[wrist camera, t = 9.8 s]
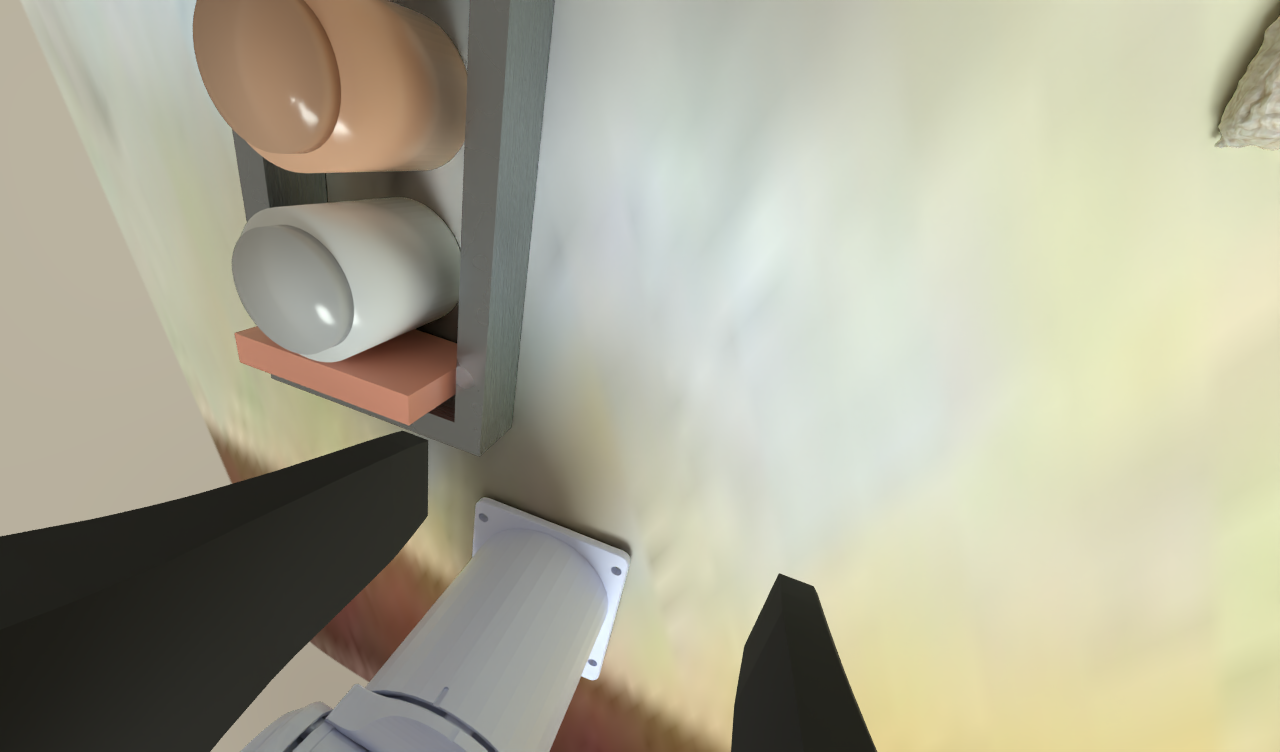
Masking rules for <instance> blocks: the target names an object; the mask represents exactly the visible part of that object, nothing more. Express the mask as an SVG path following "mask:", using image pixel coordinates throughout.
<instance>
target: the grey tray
mask: <svg viewBox="0 0 1280 752" xmlns="http://www.w3.org/2000/svg"><path fill="white" fill-rule="evenodd" d="M553 9H554V0H470V15H469V42H468V69H467V96H466V123H465V150H464V177H463V204H462V232H461V259H460V286H459V313H458V340H457V367H456V394H455V395H453V396H452V397H450V398H449V399H447V400H446V401H444V402H443V403H441V404H440V405H438V406H437V407H436V408H434V409H433V410H431V411H430V412H428V413H427V414H425V415H424V416H422V417H421V418H419V419H418V420H416V421H415V422H413V423H412V424H410V425H406V424H403V423H401V422H398V421H395V420H393V419H390V418H387V417H385V416H382V415H379V414H377V413H374V412H371V411H369V410H366V409H363V408H361V407H358V406H355V405H353V404H350V403H347V402H345V401H342V400H339V399H337V398H334V397H331V396H329V395H326V394H323V393H321V392H318V391H315V390H313V389H310V388H307V387H305V386H302V385H299V384H297V383H294V382H292V381H289V380H286V379H284V378H281V377H278V376H276V375H273V374H271V378H272V379H275V380H278V381H280V382H283V383H286V384H288V385H291V386H293V387H296V388H299V389H301V390H304V391H307V392H309V393H312V394H315V395H317V396H320V397H323V398H325V399H328V400H331V401H333V402H336V403H339V404H341V405H344V406H346V407H349V408H352V409H354V410H357V411H360V412H362V413H365V414H368V415H370V416H373V417H376V418H378V419H381V420H384V421H386V422H389V423H391V424H394V425H397V426H399V427H402V428H405V429H407V430H410V431H413V432H415V433H418V434H421V435H423V436H426V437H429V438H431V439H434V440H437V441H439V442H442V443H444V444H447V445H450V446H452V447H455V448H458V449H460V450H463V451H466V452H468V453H471V454H474V455H476V456H479V457H480V456H481V455H482V454H483V453H484V452H485V451H486V450H487V449H488V448H489V447H490V446H492V445H493V444H494V443H495V442H496V441H497V440H498V439H499V438H500V437H501V436H502V435H504V434H505V433H506V432H507V431H508V430H509V429H510V428H511V427H512V417H513V407H514V397H515V387H516V377H517V367H518V357H519V347H520V337H521V327H522V317H523V307H524V298H525V288H526V278H527V268H528V258H529V248H530V238H531V228H532V218H533V208H534V198H535V188H536V178H537V168H538V158H539V148H540V139H541V129H542V119H543V109H544V99H545V89H546V79H547V69H548V59H549V49H550V39H551V29H552V19H553ZM232 131H233V137H234V144H235V150H236V156H237V163H238V169H239V175H240V182H241V188H242V194H243V201H244V207H245V213H246V220H247V222H248V220H249V219H250V218H251V217H252V216H253V215H254V214H256V213H258V212H259V211H261V210H264V209H267V208H273V207H283V206H295V205H307V204H319V203H327V192H326V180H325V173H297V172H292V171H288V170H285V169H283V168H281V167H278V166H276V165H274V164H273V163H271V162H269V161H268V160H266V159H265V158H264V157H262V156H261V155H260V154H258V153H257V152H256V151H255V150H254V149H253V148H252V147H251V146H250V145H249V144H248V143H247V142H246V141H245V140H244V139H243V138H241V137H240V136H239V135H238V134H237V133H236V132H235V131H234V130H233V129H232Z"/></svg>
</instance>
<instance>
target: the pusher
mask: <svg viewBox="0 0 1280 752" xmlns="http://www.w3.org/2000/svg"><path fill="white" fill-rule="evenodd" d="M235 338H236V343H237V349H238V354H239V359H240V362H241V363H244V364H246V365H249V366H252V367H254V368H257V369H260V370H262V371H265V372H268V373H270V374H273V375H276V376H278V377H281V378H284V379H286V380H289V381H292V382H294V383H297V384H299V385H302V386H305V387H307V388H310V389H313V390H315V391H318V392H321V393H323V394H326V395H329V396H331V397H334V398H337V399H339V400H342V401H345V402H347V403H350V404H353V405H355V406H358V407H361V408H363V409H366V410H369V411H371V412H374V413H377V414H379V415H382V416H385V417H387V418H390V419H393V420H395V421H398V422H401V423H403V424H406V425H410V424H412V423H413V422H415V421H416V420H418V419H419V418H421V417H422V416H424V415H425V414H427V413H428V412H430V411H431V410H433V409H434V408H436V407H437V406H438V405H440V404H441V403H443V402H444V401H446V400H447V399H449V398H450V397H452V396H453V395H455V394H456V367H457V343H454V342H451V341H448V340H445V339H442V338H439V337H437V336H434V335H431V334H428V333H425V332H422V331H419V330H416V329H413V330H411V331H409V332H406V333H404V334H402V335H399V336H397V337H395V338H393V339H390V340H388V341H386V342H383V343H381V344H379V345H376V346H374V347H372V348H369V349H367V350H365V351H363V352H360V353H358V354H356V355H353V356H351V357H349V358H346V359H344V360H341V361H337V362H320V361H315V360H312V359H309V358H307V357H304V356H302V355H300V354H298V353H294V352H291V351H289V350H287V349H285V348H283V347H281V346H279V345H278V344H276V343H275V342H274V341H272V340H271V339H270V338H269V337H268V336H266V335H265V334H264V333H263V332H262V331H261V330H260V329H259V327H258V326H256V327H253V328H250V329H246V330H243V331H240V332H236V333H235Z"/></svg>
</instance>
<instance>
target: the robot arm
mask: <svg viewBox="0 0 1280 752" xmlns="http://www.w3.org/2000/svg"><path fill="white" fill-rule="evenodd" d="M427 516H428V440H426V439H423V438H421V437H418V436H415V435H413V434H410V433H407V432H405V431H400V432H396V433H393V434H389V435H386V436H382V437H379V438H376V439H373V440H370V441H367V442H364V443H360V444H357V445H354V446H351V447H348V448H345V449H342V450H339V451H336V452H333V453H330V454H327V455H324V456H321V457H318V458H315V459H312V460H309V461H305V462H302V463H299V464H296V465H293V466H290V467H287V468H284V469H281V470H278V471H274V472H271V473H268V474H264V475H261V476H258V477H254V478H251V479H247V480H244V481H240V482H237V483H234V484H230V485H227V486H224V487H220V488H217V489H213V490H210V491H206V492H203V493H200V494H196V495H192V496H188V497H185V498H181V499H177V500H173V501H169V502H165V503H161V504H157V505H153V506H149V507H144V508H140V509H135V510H131V511H127V512H123V513H118V514H114V515H109V516H105V517H100V518H95V519H91V520H86V521H80V522H75V523H70V524H64V525H59V526H54V527H48V528H44V529H38V530H32V531H28V532H22V533H17V534H11V535H6V536H1V537H0V752H210V751H211V750H212V749H213V747H214V746H215V745H216V744H217V743H218V741H219V740H220V739H221V738H222V737H223V735H224V734H225V733H226V732H227V731H228V730H229V728H230V727H231V726H232V725H233V724H234V723H235V722H236V720H237V719H238V718H239V717H240V716H241V715H242V713H243V712H244V711H245V710H246V709H247V708H248V707H249V705H250V704H251V703H252V702H253V701H254V700H255V698H256V697H257V696H258V695H259V694H260V693H261V692H262V690H263V689H264V688H265V687H266V686H267V685H268V684H269V682H270V681H271V680H272V679H273V678H274V677H275V676H276V675H277V674H278V673H279V672H280V671H281V670H282V669H283V667H284V666H285V665H286V664H287V663H288V662H289V661H290V660H291V659H292V658H293V657H294V656H295V655H296V654H297V653H298V652H299V651H300V650H301V649H302V648H303V647H304V646H305V645H306V644H307V643H308V642H309V641H310V640H311V639H312V638H313V637H314V636H315V635H316V634H317V633H318V632H320V631H321V630H322V629H323V628H324V627H325V626H326V625H327V624H328V623H329V622H330V621H331V620H332V619H333V618H334V617H335V616H336V615H337V614H338V613H339V612H340V611H341V610H342V609H343V608H344V607H345V606H346V605H347V604H348V603H349V602H350V601H351V600H352V599H353V598H354V597H355V596H356V595H357V594H358V593H359V592H361V591H362V590H363V589H364V588H365V587H366V586H367V585H368V584H369V583H370V582H371V581H372V580H373V579H374V578H375V577H376V576H377V575H378V574H379V573H380V572H381V571H382V570H383V569H384V568H385V567H386V566H387V565H388V564H389V563H390V562H391V561H392V560H393V559H394V557H395V556H396V555H397V554H398V553H399V551H400V550H401V549H402V548H403V547H404V545H405V544H406V543H407V542H408V541H409V539H410V538H411V537H412V535H413V534H414V533H415V532H416V530H417V529H418V528H419V526H420V525H421V524H422V523H423V521H424V520H425V519H426V517H427ZM630 563H631V559H630V556H629V555H628V554H627V553H626V552H624V551H623V550H620V549H618V548H615V547H613V546H610V545H607V544H605V543H602V542H600V541H597V540H595V539H592V538H590V537H587V536H584V535H582V534H579V533H577V532H574V531H572V530H569V529H567V528H564V527H562V526H559V525H556V524H554V523H551V522H549V521H546V520H544V519H541V518H539V517H536V516H534V515H531V514H528V513H526V512H523V511H521V510H518V509H516V508H513V507H511V506H508V505H505V504H503V503H500V502H498V501H495V500H493V499H490V498H487V497H483V498H481V499H480V500H479V501H478V502H477V503H476V506H475V521H474V536H473V551H472V559H471V560H470V561H469V562H468V563H467V565H466V566H465V567H464V568H463V570H462V571H461V572H460V573H459V574H458V576H457V577H456V578H455V579H454V580H453V582H452V583H451V584H450V585H449V587H448V588H447V589H446V590H445V591H444V593H443V594H442V595H441V596H440V597H439V599H438V600H437V601H436V602H435V603H434V605H433V606H432V607H431V608H430V610H429V611H428V612H427V613H426V614H425V616H424V617H423V618H422V619H421V620H420V622H419V623H418V624H417V625H416V626H415V628H414V629H413V630H412V631H411V633H410V634H409V635H408V636H407V637H406V639H405V640H404V641H403V642H402V643H401V645H400V646H399V647H398V648H397V650H396V651H395V652H394V653H393V654H392V656H391V657H390V658H389V659H388V660H387V662H386V663H385V664H384V665H383V666H382V668H381V669H380V670H379V671H378V673H377V674H376V675H375V676H374V677H373V679H372V680H371V681H370V682H369V683H368V685H367V686H366V687H365V688H364V687H363V686H361V685H359V684H355V685H354V686H353V687H352V688H351V689H350V690H349V691H348V693H347V694H346V695H345V696H344V698H343V699H342V700H341V701H340V702H339V703H338V704H337V706H336V707H335V708H334V709H332V708H330V707H329V706H327V705H326V704H324V703H323V702H314V703H312V704H310V705H308V706H306V707H304V708H301V709H298V710H295V711H291V712H288V713H286V714H284V715H283V716H281V717H280V718H278V719H277V720H275V721H274V722H273V723H271V724H270V725H269V726H268V727H267V728H265V729H264V730H263V731H262V732H261V733H260V734H258V735H257V736H256V737H255V738H254V739H253V740H252V741H251V742H250V743H249V744H247V746H246V747H244V748H243V749H242V750H241V751H240V752H549V751H550V749H551V746H552V744H553V741H554V739H555V737H556V734H557V732H558V730H559V727H560V725H561V723H562V720H563V718H564V715H565V713H566V711H567V708H568V706H569V704H570V701H571V699H572V696H573V694H574V692H575V689H576V687H577V685H578V682H579V680H580V678H581V676H583V677H585V678H587V679H590V680H596V679H597V678H598V677H599V674H600V672H601V668H602V665H603V661H604V657H605V654H606V650H607V646H608V643H609V639H610V635H611V632H612V628H613V624H614V621H615V617H616V614H617V610H618V606H619V603H620V599H621V595H622V592H623V588H624V584H625V581H626V577H627V573H628V570H629V566H630ZM616 567H618V568H620V569H617V568H616ZM731 752H877V750H876V748H875V745H874V743H873V741H872V738H871V736H870V734H869V731H868V729H867V726H866V724H865V721H864V719H863V716H862V714H861V711H860V709H859V707H858V704H857V702H856V699H855V697H854V694H853V692H852V689H851V687H850V684H849V682H848V679H847V676H846V674H845V671H844V668H843V666H842V663H841V660H840V658H839V655H838V652H837V649H836V647H835V644H834V641H833V638H832V636H831V633H830V630H829V627H828V624H827V621H826V618H825V615H824V612H823V609H822V606H821V603H820V600H819V597H818V594H817V592H816V590H815V588H814V586H811V585H809V584H806V583H803V582H801V581H798V580H795V579H793V578H790V577H787V576H785V575H782V574H780V573H779V574H778V577H777V579H776V581H775V583H774V585H773V587H772V589H771V591H770V593H769V595H768V598H767V600H766V602H765V604H764V606H763V608H762V610H761V612H760V614H759V616H758V619H757V621H756V623H755V625H754V627H753V629H752V631H751V633H750V635H749V637H748V640H747V642H746V644H745V646H744V652H743V657H742V663H741V669H740V674H739V680H738V686H737V692H736V699H735V705H734V717H733V732H732V746H731Z"/></svg>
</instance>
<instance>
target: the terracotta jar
mask: <svg viewBox="0 0 1280 752" xmlns="http://www.w3.org/2000/svg"><path fill="white" fill-rule="evenodd" d="M193 41H194V50H195V55H196V60H197V64H198V68H199V71H200V74H201V77H202V80H203V83H204V85H205V87H206V89H207V92H208V94H209V96H210V98H211V100H212V101H213V103H214V105H215V107H216V108H217V110H218V111H219V113H220V114H221V116H222V117H223V118H224V120H225V121H226V122H227V123H228V125H229V126H230V127H231V128H232V129H233V130H234V131H235V132H236V133H237V134H238V135H239V136H240V137H241V138H243V139H244V140H245V141H246V142H247V143H248V144H249V145H250V146H251V147H252V148H253V149H254V150H255V151H256V152H257V153H258V154H260V155H261V156H262V157H264V158H265V159H266V160H268V161H269V162H271V163H273V164H274V165H276V166H278V167H281V168H283V169H285V170H288V171H292V172H297V173H337V172H385V171H425V170H432V169H436V168H438V167H441V166H443V165H444V164H446V163H447V162H449V161H450V160H451V159H452V158H453V157H454V156H455V155H456V154H457V152H458V151H459V150H460V148H461V146H462V144H463V143H464V141H465V123H466V96H467V72H466V68H465V66H464V63H463V60H462V58H461V56H460V54H459V52H458V50H457V48H456V47H455V45H454V44H453V42H452V40H451V39H450V38H449V36H448V35H447V34H446V33H445V31H444V30H443V29H442V28H441V27H440V26H439V25H438V24H436V23H435V22H434V21H432V20H431V19H430V18H428V17H427V16H425V15H423V14H421V13H419V12H416V11H414V10H411V9H409V8H406V7H404V6H401V5H399V4H396V3H394V2H391V1H388V0H197V2H196V6H195V11H194V18H193Z"/></svg>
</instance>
